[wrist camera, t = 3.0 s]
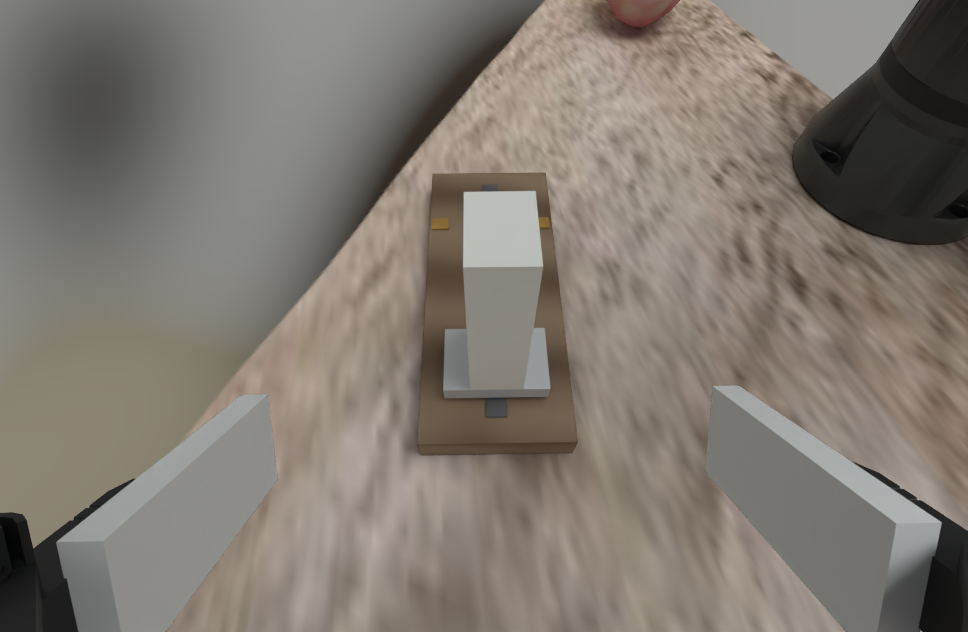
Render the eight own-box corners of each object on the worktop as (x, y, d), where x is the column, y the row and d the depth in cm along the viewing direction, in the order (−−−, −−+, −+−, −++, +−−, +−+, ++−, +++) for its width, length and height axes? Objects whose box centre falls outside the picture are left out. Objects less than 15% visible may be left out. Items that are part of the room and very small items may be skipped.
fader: (548, 396, 29) (583, 266, 19) (444, 398, 29) (422, 268, 19) (542, 336, 31) (571, 190, 21) (446, 338, 31) (427, 192, 21)
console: (572, 452, 30) (578, 440, 28) (420, 455, 30) (416, 443, 28) (542, 191, 42) (545, 170, 40) (434, 192, 42) (432, 171, 40)
